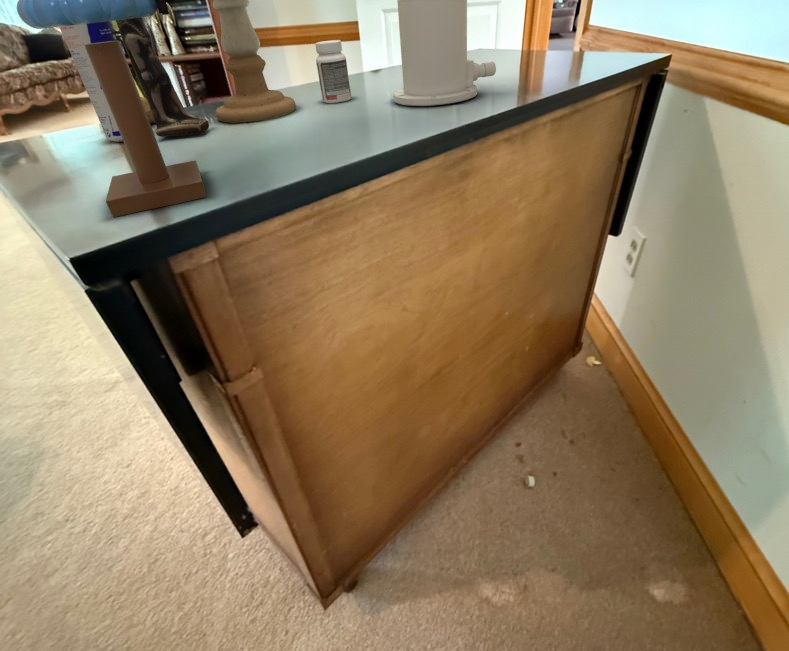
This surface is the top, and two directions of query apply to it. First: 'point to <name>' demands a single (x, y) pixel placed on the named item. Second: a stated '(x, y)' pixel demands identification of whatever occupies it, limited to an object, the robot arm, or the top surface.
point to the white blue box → (92, 69)
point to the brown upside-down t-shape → (139, 142)
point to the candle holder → (246, 69)
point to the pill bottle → (332, 72)
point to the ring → (81, 11)
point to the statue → (157, 83)
